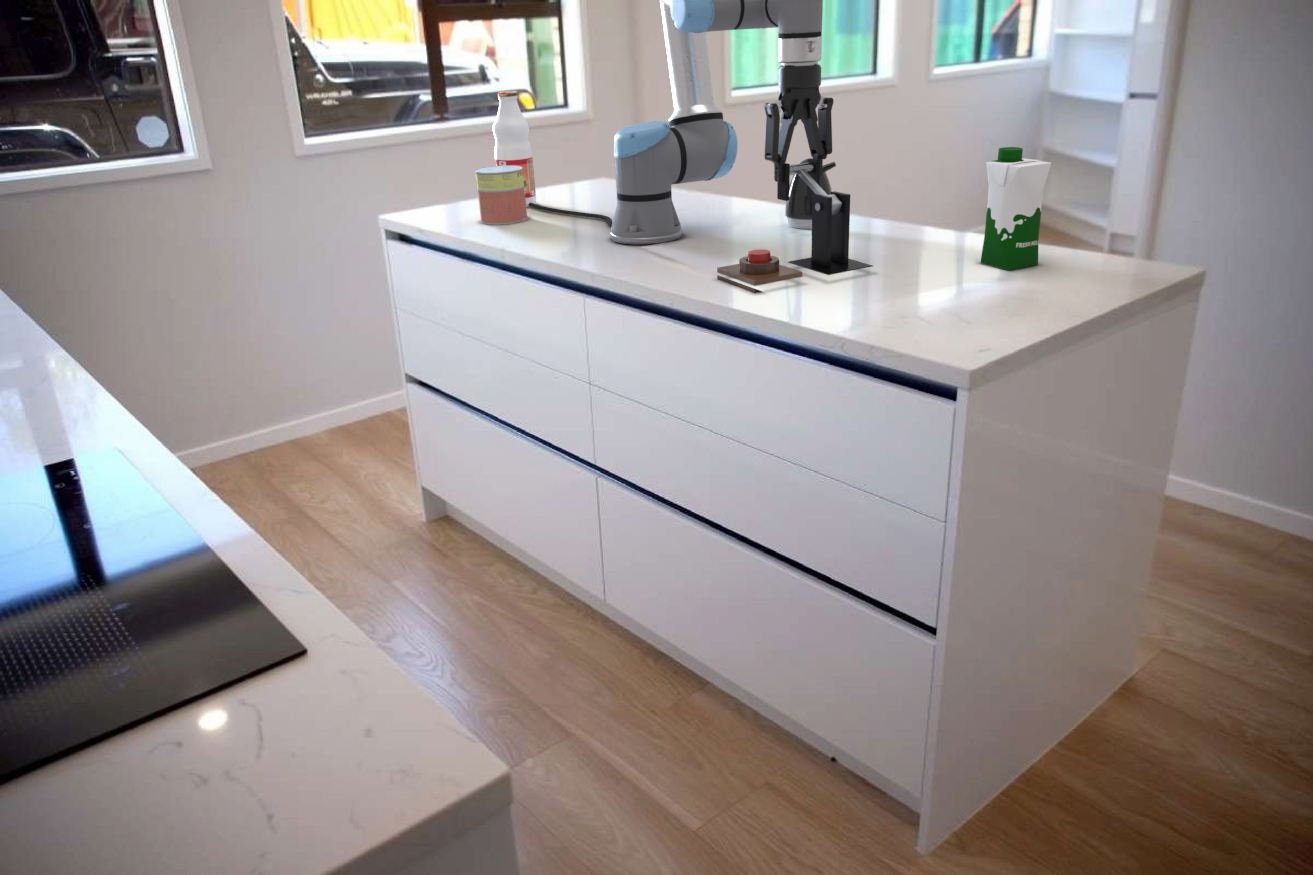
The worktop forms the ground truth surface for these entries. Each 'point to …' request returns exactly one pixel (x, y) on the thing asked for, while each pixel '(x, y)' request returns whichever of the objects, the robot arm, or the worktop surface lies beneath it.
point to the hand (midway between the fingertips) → (798, 197)
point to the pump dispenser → (804, 199)
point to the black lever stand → (830, 237)
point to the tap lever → (814, 183)
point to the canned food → (501, 195)
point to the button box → (756, 273)
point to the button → (759, 256)
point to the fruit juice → (514, 141)
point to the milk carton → (1013, 210)
